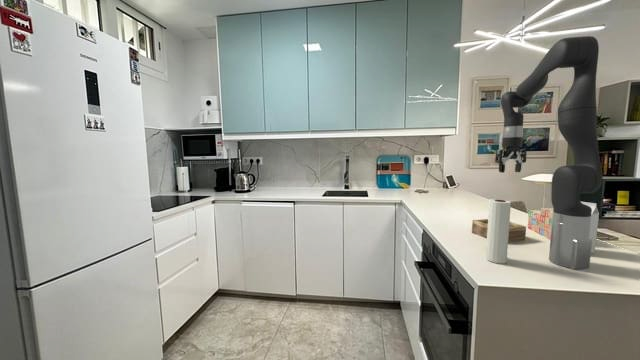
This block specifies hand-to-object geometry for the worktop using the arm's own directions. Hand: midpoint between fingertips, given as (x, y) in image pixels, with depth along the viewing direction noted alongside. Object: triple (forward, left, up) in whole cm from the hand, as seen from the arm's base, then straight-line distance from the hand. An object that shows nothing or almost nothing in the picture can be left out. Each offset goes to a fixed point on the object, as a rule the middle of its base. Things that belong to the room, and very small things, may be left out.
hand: (509, 172), depth 122 cm
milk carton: (-26, -6, -28) cm, 39 cm away
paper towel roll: (-27, +31, -28) cm, 50 cm away
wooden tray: (-5, +10, -29) cm, 31 cm away
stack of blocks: (-8, -14, -28) cm, 33 cm away
